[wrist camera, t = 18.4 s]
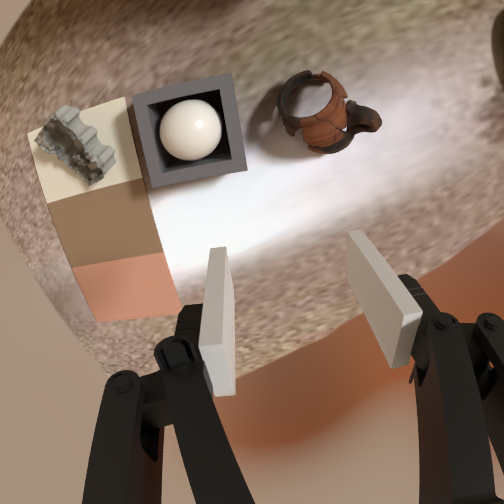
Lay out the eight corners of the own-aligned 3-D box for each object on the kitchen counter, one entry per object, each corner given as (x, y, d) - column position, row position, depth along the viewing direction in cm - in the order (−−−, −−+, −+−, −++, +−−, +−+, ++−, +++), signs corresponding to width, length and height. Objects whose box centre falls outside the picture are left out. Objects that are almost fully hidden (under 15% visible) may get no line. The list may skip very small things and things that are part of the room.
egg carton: (50, 119, 33) (30, 138, 31) (72, 95, 29) (47, 115, 27) (97, 174, 40) (80, 195, 38) (125, 160, 35) (105, 183, 33)
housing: (143, 95, 34) (131, 95, 30) (232, 75, 34) (231, 73, 30) (161, 177, 40) (152, 188, 35) (246, 161, 39) (247, 170, 35)
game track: (28, 133, 35) (27, 133, 35) (124, 96, 34) (124, 96, 34) (97, 321, 50) (97, 322, 50) (183, 312, 50) (183, 312, 50)
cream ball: (161, 106, 35) (147, 109, 29) (217, 94, 35) (214, 94, 29) (172, 159, 39) (160, 172, 32) (227, 148, 38) (226, 160, 32)
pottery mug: (292, 157, 41) (262, 132, 34) (304, 96, 40) (278, 64, 33) (384, 165, 34) (371, 136, 27) (390, 98, 34) (377, 59, 27)
